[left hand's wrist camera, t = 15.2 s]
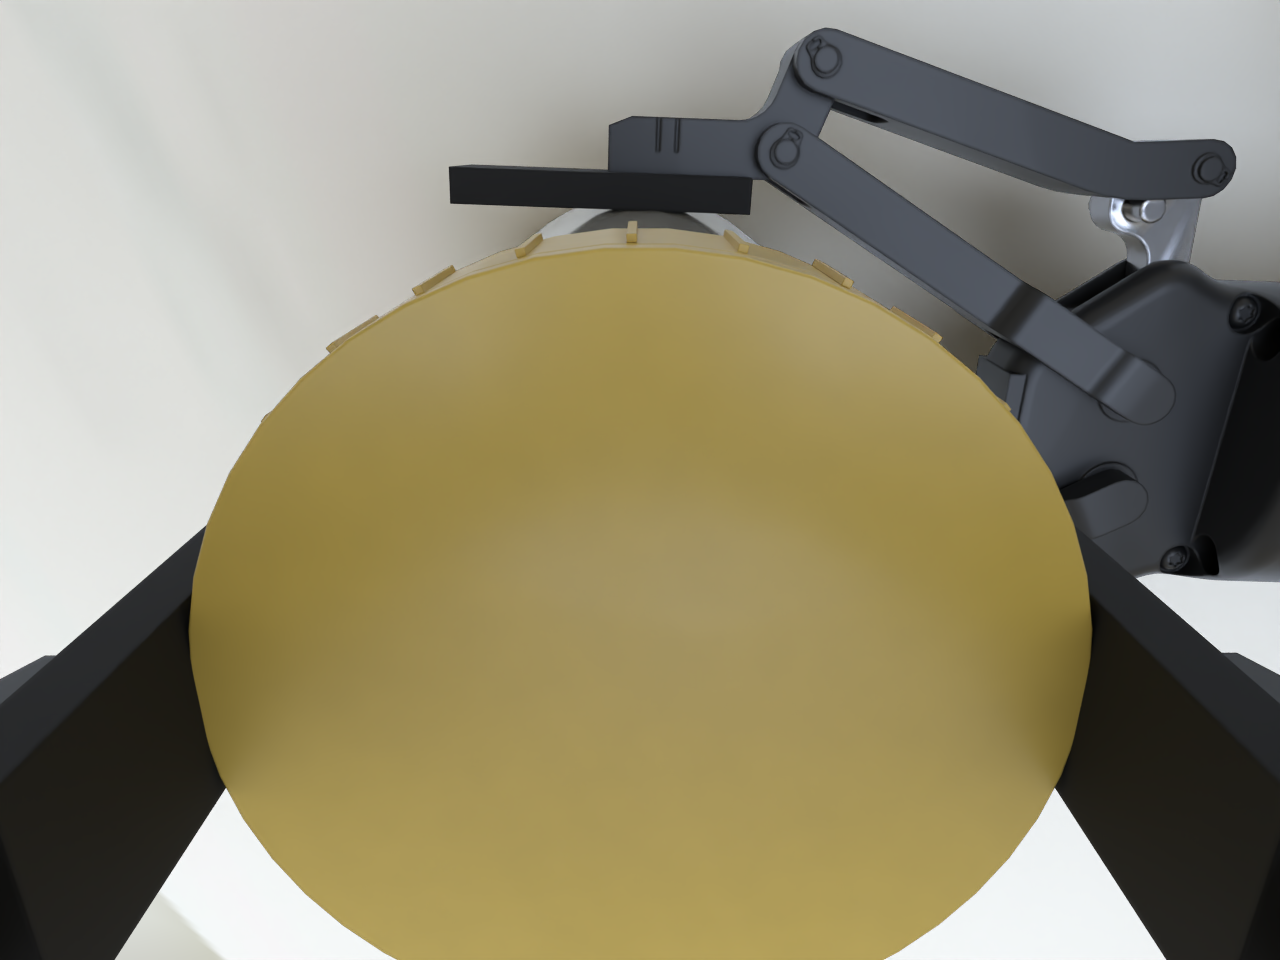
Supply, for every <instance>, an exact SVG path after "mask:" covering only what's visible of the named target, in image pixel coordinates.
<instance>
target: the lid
mask: <svg viewBox="0 0 1280 960" xmlns="http://www.w3.org/2000/svg"><path fill="white" fill-rule="evenodd" d="M853 283H854V281H853V280H851V279H849V278H848V277H846V276H845V275H843V274H841V273H840V272H838V271H836V270H835V269H833V268H832V267H830V266H828V265H827V264H825V263H823V262H822V261H820V260H817V259H815V260H814V262H813V264H812V265H810V264H808V263H806V262H803V261H801V260H799V259H796V258H794V257H792V256H789V255H787V254H785V253H783V252H780V251H777V250H773V249H770V248H766V247H763V246H759V245H755V244H752V243H748V242H745V241H744V240H742V239H741V238H740V237H739V236H738V235H737V234H736V233H734V232H733V231H730V230H724V235H723V236H721V235H714V234H706V233H699V232H692V231H684V230H677V229H669V228H637V221H629V222H628V227H627V228H611V229H604V230H596V231H589V232H582V233H575V234H567V235H560V236H554V237H550V238H547V239H543V237H542V234H541V233H538V234H534V235H532V236H531V237H530V238H529V239H527V240H526V241H525V242H524V243H522V244H521V245H520V246H518V247H515V248H511V249H508V250H504V251H501V252H498V253H496V254H494V255H491V256H489V257H487V258H484V259H482V260H480V261H478V262H475V263H473V264H471V265H468V266H466V267H464V268H462V269H459V270H457V271H456V270H455V269H454V267H453V265H451V266H449V267H447V268H445V269H444V270H442V271H440V272H439V273H437V274H435V275H434V276H432V277H430V278H429V279H427V280H426V281H424V282H422V283H421V284H419V285H417V286H416V287H414V288H413V289H412V290H413V292H414V294H415V295H414V296H413V297H411V298H410V299H408V300H406V301H405V302H403V303H402V304H400V305H398V306H397V307H395V308H394V309H392V310H391V311H389V312H388V313H386V314H385V315H383V316H381V317H380V318H379V317H378V316H377V315H375V316H374V317H372V318H371V319H369V320H367V321H366V322H364V323H363V324H361V325H359V326H358V327H356V328H355V329H353V330H351V331H350V332H348V333H347V334H345V335H343V336H342V337H340V338H339V339H337V340H335V341H334V342H332V343H331V344H330V345H329V346H328V347H326V349H327V350H328V351H329V352H330V354H329V355H328V356H326V357H325V358H324V359H323V360H322V361H320V362H319V363H318V364H317V365H316V366H315V367H313V368H312V369H311V370H310V371H309V372H307V373H306V374H305V375H304V376H303V377H301V378H300V379H299V381H298V382H297V383H296V384H295V385H294V386H293V387H292V389H291V390H290V391H289V392H288V393H287V394H286V395H285V397H284V398H283V399H282V400H281V401H280V402H279V403H278V404H277V406H276V407H275V408H274V409H273V410H272V411H271V412H269V413H268V414H267V415H265V417H264V418H263V419H262V421H261V422H262V423H261V424H260V425H259V427H258V429H257V430H256V432H255V433H254V435H253V436H252V438H251V440H250V441H249V443H248V444H247V446H246V447H245V449H244V451H243V452H242V454H241V455H240V457H239V458H238V460H237V462H236V463H235V465H234V466H233V468H232V469H231V471H230V473H229V475H228V477H227V479H226V481H225V484H224V486H223V488H222V491H221V493H220V495H219V498H218V500H217V502H216V505H215V507H214V509H213V511H212V514H211V516H210V518H209V521H208V523H207V526H206V530H205V534H204V538H203V542H202V545H201V549H200V553H199V557H198V561H197V565H196V569H195V573H194V577H193V588H192V598H191V609H190V620H189V645H190V659H191V664H192V670H193V675H194V680H195V685H196V689H197V694H198V699H199V703H200V708H201V713H202V717H203V722H204V726H205V731H206V736H207V740H208V743H209V747H210V751H211V754H212V756H213V759H214V762H215V764H216V767H217V770H218V772H219V775H220V777H221V779H222V781H223V783H224V785H225V786H226V788H227V790H228V792H229V794H230V796H231V797H232V799H233V801H234V803H235V805H236V807H237V808H238V810H239V812H240V814H241V816H242V818H243V819H244V821H245V822H246V823H247V825H248V826H249V828H250V829H251V830H252V832H253V833H254V834H255V836H256V837H257V839H258V840H259V841H260V843H261V844H262V845H263V847H264V848H265V849H266V851H267V852H268V854H269V855H270V856H271V858H272V859H273V860H274V861H275V862H276V863H277V864H278V865H279V866H280V867H281V869H282V870H283V871H284V872H285V873H286V874H287V875H288V876H289V877H290V878H291V879H292V880H293V881H294V882H295V883H296V885H297V886H298V887H299V888H300V889H301V890H302V891H303V892H304V893H305V894H306V895H307V896H308V897H310V898H311V899H312V900H313V901H314V902H316V903H317V904H318V905H319V906H320V907H321V908H323V909H324V910H325V911H326V912H327V913H329V914H330V915H331V916H332V917H333V918H335V919H336V920H337V921H338V922H339V923H340V924H342V925H343V926H344V927H346V928H347V929H349V930H350V931H352V932H353V933H355V934H356V935H358V936H359V937H361V938H362V939H364V940H365V941H367V942H368V943H370V944H371V945H373V946H374V947H376V948H377V949H379V950H380V951H382V952H383V953H385V954H387V955H389V956H391V957H393V958H395V959H397V960H884V959H886V958H888V957H890V956H891V955H893V954H895V953H897V952H899V951H900V950H902V949H903V948H905V947H906V946H908V945H909V944H911V943H912V942H914V941H915V940H917V939H918V938H920V937H921V936H923V935H924V934H926V933H927V932H929V931H930V930H932V929H933V928H935V927H936V926H938V925H939V924H940V923H941V922H943V921H944V920H945V919H946V918H947V917H949V916H950V915H951V914H952V913H953V912H955V911H956V910H957V909H958V908H959V907H960V906H962V905H963V904H964V903H965V902H966V901H968V900H969V899H970V898H971V897H972V896H973V895H975V894H976V893H977V892H978V891H979V890H980V889H981V887H982V886H983V885H984V884H985V883H986V882H987V881H988V880H989V879H990V878H991V877H992V876H993V875H994V874H995V873H996V871H997V870H998V869H999V868H1000V867H1001V866H1002V865H1003V864H1004V863H1005V862H1006V861H1007V860H1008V859H1009V857H1010V856H1011V855H1012V853H1013V852H1014V851H1015V849H1016V848H1017V846H1018V845H1019V844H1020V842H1021V841H1022V840H1023V838H1024V837H1025V835H1026V834H1027V833H1028V831H1029V830H1030V829H1031V827H1032V826H1033V824H1034V823H1035V822H1036V820H1037V819H1038V817H1039V815H1040V814H1041V812H1042V810H1043V808H1044V806H1045V804H1046V802H1047V801H1048V799H1049V797H1050V795H1051V793H1052V791H1053V790H1054V788H1055V786H1056V784H1057V782H1058V780H1059V779H1060V777H1061V775H1062V772H1063V769H1064V767H1065V764H1066V761H1067V759H1068V756H1069V753H1070V751H1071V747H1072V743H1073V739H1074V735H1075V731H1076V726H1077V721H1078V717H1079V712H1080V707H1081V703H1082V698H1083V694H1084V689H1085V684H1086V680H1087V675H1088V669H1089V664H1090V658H1091V642H1092V621H1091V610H1090V600H1089V589H1088V579H1087V573H1086V569H1085V565H1084V561H1083V557H1082V554H1081V550H1080V546H1079V542H1078V538H1077V534H1076V530H1075V526H1074V523H1073V521H1072V518H1071V516H1070V514H1069V511H1068V509H1067V507H1066V505H1065V502H1064V500H1063V498H1062V495H1061V493H1060V491H1059V489H1058V486H1057V484H1056V482H1055V479H1054V477H1053V475H1052V473H1051V471H1050V469H1049V468H1048V466H1047V465H1046V463H1045V461H1044V460H1043V458H1042V457H1041V455H1040V454H1039V452H1038V451H1037V449H1036V447H1035V446H1034V444H1033V443H1032V441H1031V440H1030V438H1029V436H1028V435H1027V433H1026V432H1025V430H1024V429H1023V427H1022V426H1021V424H1020V423H1019V421H1018V420H1017V419H1016V418H1015V417H1014V416H1013V415H1012V414H1011V412H1010V410H1011V408H1010V407H1009V406H1008V404H1007V403H1006V402H1004V401H1003V400H1001V399H1000V398H998V397H997V396H996V395H995V394H994V393H993V392H992V391H991V390H990V389H989V387H988V386H987V385H986V384H985V383H984V382H983V381H982V380H981V378H980V377H979V376H977V375H976V374H975V373H974V372H973V371H971V370H970V369H969V368H968V367H967V366H965V365H964V364H963V363H962V362H961V361H959V360H958V359H957V358H956V357H955V356H953V355H952V354H951V353H950V352H949V351H947V350H946V349H945V348H944V347H943V346H941V345H940V344H939V342H940V341H941V340H942V339H943V337H942V336H940V335H939V334H938V333H937V332H935V331H933V330H932V329H930V328H929V327H927V326H925V325H924V324H922V323H920V322H919V321H917V320H916V319H914V318H912V317H911V316H909V315H907V314H906V313H904V312H903V311H901V310H899V309H898V308H896V307H894V306H893V307H892V308H891V310H889V309H887V308H886V307H884V306H882V305H881V304H879V303H878V302H876V301H875V300H873V299H871V298H870V297H868V296H866V295H865V294H863V293H862V292H860V291H858V290H857V289H855V288H853V287H852V285H853Z"/></svg>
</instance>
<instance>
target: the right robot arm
mask: <svg viewBox="0 0 1280 960" xmlns="http://www.w3.org/2000/svg"><path fill="white" fill-rule="evenodd" d="M830 110H832V111H835V112H838V113H840V114H843V115H846V116H849V117H851V118H854V119H857V120H860V121H862V122H865V123H868V124H870V125H873V126H876V127H879V128H881V129H884V130H887V131H890V132H892V133H895V134H898V135H900V136H903V137H906V138H909V139H911V140H914V141H917V142H920V143H922V144H925V145H928V146H930V147H933V148H936V149H939V150H941V151H944V152H947V153H950V154H952V155H955V156H958V157H960V158H963V159H966V160H969V161H971V162H974V163H977V164H980V165H982V166H985V167H988V168H990V169H993V170H996V171H999V172H1001V173H1004V174H1007V175H1010V176H1012V177H1015V178H1018V179H1020V180H1023V181H1026V182H1029V183H1031V184H1034V185H1037V186H1040V187H1043V188H1047V189H1050V190H1053V191H1057V192H1064V193H1070V194H1077V195H1087V196H1091V198H1090V201H1089V210H1090V215H1091V219H1092V221H1093V222H1094V224H1095V225H1096V226H1097V227H1099V228H1100V229H1102V230H1105V231H1109V232H1113V233H1116V234H1117V235H1119V236H1120V237H1121V238H1122V239H1123V241H1124V242H1125V244H1126V248H1127V259H1125V260H1122V261H1120V262H1118V263H1116V264H1115V265H1113V266H1111V267H1110V268H1108V269H1107V270H1105V271H1103V272H1102V273H1100V274H1098V275H1097V276H1095V277H1093V278H1092V279H1090V280H1088V281H1087V282H1085V283H1083V284H1082V285H1080V286H1079V287H1077V288H1075V289H1074V290H1072V291H1070V292H1069V293H1067V294H1065V295H1064V296H1062V297H1060V298H1059V299H1057V300H1056V301H1055V300H1053V299H1052V298H1050V297H1049V296H1047V295H1046V294H1044V293H1043V292H1041V291H1039V290H1038V289H1036V288H1034V287H1032V286H1030V285H1028V284H1027V283H1025V282H1023V281H1022V280H1020V279H1019V278H1017V277H1016V276H1015V275H1013V274H1012V273H1010V272H1009V271H1007V270H1006V269H1005V268H1003V267H1002V266H1000V265H999V264H997V263H996V262H995V261H993V260H992V259H990V258H989V257H987V256H986V255H985V254H983V253H982V252H980V251H979V250H978V249H976V248H975V247H973V246H972V245H970V244H969V243H968V242H966V241H965V240H963V239H962V238H960V237H959V236H958V235H956V234H955V233H953V232H952V231H950V230H949V229H948V228H946V227H945V226H943V225H942V224H940V223H939V222H938V221H936V220H935V219H933V218H932V217H931V216H929V215H928V214H926V213H925V212H923V211H922V210H921V209H919V208H918V207H916V206H915V205H913V204H912V203H911V202H909V201H908V200H906V199H905V198H903V197H902V196H901V195H899V194H898V193H896V192H895V191H893V190H892V189H891V188H889V187H888V186H886V185H885V184H883V183H882V182H881V181H879V180H878V179H876V178H875V177H874V176H872V175H871V174H869V173H868V172H866V171H865V170H864V169H862V168H861V167H859V166H858V165H856V164H855V163H854V162H852V161H851V160H849V159H848V158H846V157H845V156H844V155H842V154H841V153H839V152H838V151H836V150H835V149H834V148H832V147H831V146H829V145H828V144H827V143H825V142H824V141H822V140H821V139H819V138H818V136H819V134H820V132H821V129H822V127H823V125H824V123H825V120H826V118H827V116H828V114H829V111H830ZM1235 169H1236V156H1235V153H1234V151H1233V149H1232V147H1231V146H1229V145H1228V144H1227V143H1226V142H1224V141H1220V140H1215V139H1197V140H1144V141H1131V140H1128V139H1126V138H1123V137H1120V136H1118V135H1115V134H1112V133H1110V132H1107V131H1105V130H1102V129H1099V128H1097V127H1094V126H1091V125H1089V124H1086V123H1083V122H1081V121H1078V120H1075V119H1073V118H1070V117H1068V116H1065V115H1062V114H1060V113H1057V112H1054V111H1052V110H1049V109H1046V108H1044V107H1041V106H1038V105H1036V104H1033V103H1031V102H1028V101H1025V100H1023V99H1020V98H1017V97H1015V96H1012V95H1009V94H1007V93H1004V92H1001V91H999V90H996V89H994V88H991V87H988V86H986V85H983V84H980V83H978V82H975V81H972V80H970V79H967V78H964V77H962V76H959V75H957V74H954V73H951V72H949V71H946V70H943V69H941V68H938V67H935V66H933V65H930V64H927V63H925V62H922V61H920V60H917V59H914V58H912V57H909V56H906V55H904V54H901V53H898V52H896V51H893V50H890V49H888V48H885V47H883V46H880V45H877V44H875V43H872V42H869V41H867V40H864V39H861V38H859V37H856V36H853V35H851V34H848V33H846V32H843V31H840V30H838V29H832V28H823V29H819V30H816V31H814V32H812V33H811V34H809V35H808V36H806V37H805V38H803V39H802V40H800V41H799V42H797V43H796V44H794V45H793V46H792V47H791V48H790V49H788V50H787V51H786V53H785V54H784V56H783V58H782V60H781V62H780V68H779V72H778V74H777V77H776V79H775V82H774V84H773V86H772V89H771V91H770V94H769V96H768V98H767V100H766V102H765V104H764V106H763V107H762V108H761V109H760V110H759V112H758V113H757V114H755V115H754V116H752V117H751V118H749V119H746V120H720V119H695V118H669V117H643V116H631V117H629V118H626V119H624V120H621V121H618V122H616V123H613V124H611V125H609V148H608V170H601V169H575V168H548V167H522V166H496V165H462V166H451V167H449V181H450V204H476V205H503V206H529V207H556V208H583V209H609V210H636V211H663V212H690V213H716V214H743V215H750V207H751V194H752V182H753V180H765V181H766V182H768V183H769V184H771V185H772V186H774V187H775V188H777V189H778V190H779V191H781V192H782V193H784V194H785V195H787V196H788V197H790V198H791V199H793V200H794V201H796V202H797V203H799V204H800V205H802V206H803V207H804V208H806V209H807V210H809V211H810V212H812V213H813V214H815V215H816V216H818V217H819V218H821V219H822V220H824V221H825V222H827V223H828V224H829V225H831V226H832V227H834V228H835V229H837V230H838V231H840V232H841V233H843V234H844V235H846V236H847V237H849V238H850V239H851V240H853V241H854V242H856V243H857V244H859V245H860V246H862V247H863V248H865V249H866V250H868V251H869V252H871V253H872V254H874V255H875V256H876V257H878V258H879V259H881V260H882V261H884V262H885V263H887V264H888V265H890V266H891V267H893V268H894V269H896V270H897V271H899V272H900V273H901V274H903V275H904V276H906V277H907V278H909V279H910V280H912V281H913V282H915V283H916V284H918V285H919V286H921V287H922V288H923V289H925V290H926V291H928V292H929V293H931V294H932V295H934V296H935V297H937V298H938V299H940V300H941V301H943V302H944V303H946V304H947V305H948V306H950V307H951V308H953V309H954V310H955V311H956V312H957V313H959V314H960V315H962V316H963V317H964V318H966V319H967V320H969V321H970V322H972V323H973V324H975V325H976V326H978V327H979V328H981V329H982V330H984V331H985V332H987V333H988V334H989V335H991V336H992V337H994V338H995V339H997V342H996V343H995V344H994V345H993V347H992V349H991V350H990V352H989V354H988V356H984V355H979V360H978V366H977V371H976V375H977V376H979V377H980V378H981V380H982V381H983V382H984V383H985V384H986V385H987V386H988V387H989V389H990V390H991V391H992V392H993V393H994V394H995V395H996V396H997V397H998V398H1000V399H1001V400H1003V401H1004V402H1006V403H1007V404H1008V406H1009V407H1010V408H1011V410H1010V412H1011V414H1012V415H1013V416H1014V417H1015V418H1016V419H1017V420H1018V421H1019V423H1020V424H1021V426H1022V427H1023V429H1024V430H1025V432H1026V433H1027V435H1028V436H1029V438H1030V440H1031V441H1032V443H1033V444H1034V446H1035V447H1036V449H1037V451H1038V452H1039V454H1040V455H1041V457H1042V458H1043V460H1044V461H1045V463H1046V465H1047V466H1048V468H1049V469H1050V471H1051V473H1052V475H1053V477H1054V479H1055V482H1056V484H1057V486H1058V489H1059V491H1060V493H1061V495H1062V498H1063V500H1064V502H1065V505H1066V507H1067V509H1068V511H1069V514H1070V516H1071V518H1072V521H1073V523H1074V525H1075V526H1076V527H1077V528H1078V529H1079V530H1081V531H1082V532H1083V533H1084V534H1085V535H1086V536H1088V537H1089V538H1090V539H1091V540H1092V541H1093V542H1094V543H1096V544H1097V545H1098V546H1099V547H1100V548H1101V549H1102V550H1104V551H1105V552H1106V553H1107V554H1108V555H1109V556H1111V557H1112V558H1113V559H1114V560H1115V561H1116V562H1117V563H1119V564H1120V565H1121V566H1122V567H1123V568H1124V569H1126V570H1127V571H1128V572H1129V573H1130V574H1131V575H1132V576H1134V577H1135V578H1138V577H1142V576H1145V575H1150V574H1157V573H1163V574H1172V575H1179V576H1186V577H1193V578H1200V579H1209V580H1227V581H1259V582H1280V282H1264V281H1236V280H1215V279H1213V278H1211V277H1210V276H1208V275H1206V274H1205V273H1204V272H1203V271H1201V270H1200V269H1199V268H1197V267H1196V266H1194V265H1192V264H1190V263H1189V262H1190V257H1191V252H1192V246H1193V241H1194V236H1195V231H1196V225H1197V220H1198V215H1199V210H1200V204H1201V199H1202V198H1206V197H1211V196H1214V195H1215V194H1217V193H1219V192H1220V191H1222V190H1223V189H1224V188H1225V187H1226V186H1227V185H1228V183H1229V182H1230V181H1231V180H1232V177H1233V174H1234V172H1235Z"/></svg>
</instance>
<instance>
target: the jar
mask: <svg viewBox="0 0 1280 960" xmlns="http://www.w3.org/2000/svg"><path fill="white" fill-rule="evenodd" d="M629 221H637V228H669V229H677V230H684V231H692V232H699V233H706V234H714V235H721V236H723V235H724V230H730V231H733V232H734V233H736V234H737V235H738V236H739V237H740V238H741V239H742V240H744V241H745V242H748V243H752V244H755V245H758V244H757V243H756V242H755V241H753V240H752V239H751V238H750V237H748V236H747V235H746V234H745V233H743V232H742V231H741V230H740V229H739V228H737V227H736V226H735V225H734V224H732V223H731V222H729V221H728V220H726V219H724V218H723V217H721V216H719V215H718V214H716V213H690V212H663V211H636V210H609V209H583V208H574V209H572V210H570V211H568V212H566V213H564V214H563V215H561V216H559V217H558V218H556V219H554V220H553V221H551V222H549V223H548V224H547V225H546V226H544V227H543V228H542V229H541V230H539V231H538V232H537V233H536V234H538V233H541V234H542V237H543V239H547V238H550V237H554V236H560V235H567V234H575V233H582V232H589V231H596V230H604V229H611V228H627V227H628V222H629ZM759 246H760V245H759Z"/></svg>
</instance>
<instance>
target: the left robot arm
mask: <svg viewBox="0 0 1280 960" xmlns="http://www.w3.org/2000/svg"><path fill="white" fill-rule="evenodd" d="M206 526H207V525H206ZM206 526H205V527H204V528H203V529H202V530H200V531H199V532H198V533H197V534H196V535H195V536H193V537H192V538H191V539H190V540H189V541H188V542H187V543H185V544H184V545H183V546H182V547H181V548H180V549H178V550H177V551H176V552H175V553H174V554H173V555H172V556H170V557H169V558H168V559H167V560H166V561H165V562H164V563H162V564H161V565H160V566H159V567H158V568H157V569H155V570H154V571H153V572H152V573H151V574H150V575H149V576H147V577H146V578H145V579H144V580H143V581H142V582H140V583H139V584H138V585H137V586H136V587H135V588H134V589H132V590H131V591H130V592H129V593H128V594H127V595H126V596H124V597H123V598H122V599H121V600H120V601H119V602H117V603H116V604H115V605H114V606H113V607H112V608H111V609H109V610H108V611H107V612H106V613H105V614H104V615H102V616H101V617H100V618H99V619H98V620H97V621H96V622H94V623H93V624H92V625H91V626H90V627H89V628H87V629H86V630H85V631H84V632H83V633H82V634H81V635H79V636H78V637H77V638H76V639H75V640H74V641H73V642H71V643H70V644H69V645H68V646H67V647H66V648H64V649H63V650H62V651H61V652H60V653H59V654H58V655H56V656H43V657H41V658H40V659H38V660H36V661H34V662H32V663H30V664H28V665H26V666H24V667H22V668H21V669H19V670H17V671H15V672H13V673H11V674H9V675H7V676H5V677H3V678H1V679H0V960H115V958H116V957H117V955H118V954H119V952H120V950H121V949H122V947H123V946H124V944H125V943H126V941H127V940H128V938H129V937H130V935H131V934H132V932H133V930H134V929H135V927H136V926H137V924H138V923H139V921H140V920H141V918H142V917H143V915H144V913H145V912H146V910H147V909H148V907H149V906H150V904H151V903H152V901H153V900H154V898H155V896H156V895H157V893H158V892H159V890H160V889H161V887H162V886H163V884H164V883H165V881H166V879H167V878H168V876H169V875H170V873H171V872H172V870H173V869H174V867H175V866H176V864H177V862H178V861H179V859H180V858H181V856H182V855H183V853H184V852H185V850H186V849H187V847H188V846H189V844H190V842H191V841H192V839H193V838H194V836H195V835H196V833H197V832H198V830H199V829H200V827H201V825H202V824H203V822H204V821H205V819H206V818H207V816H208V815H209V813H210V812H211V810H212V808H213V807H214V805H215V804H216V802H217V801H218V799H219V798H220V796H221V795H222V793H223V791H224V790H225V788H226V786H225V785H224V783H223V781H222V779H221V777H220V775H219V772H218V770H217V767H216V764H215V762H214V759H213V756H212V754H211V751H210V747H209V743H208V740H207V736H206V731H205V726H204V722H203V717H202V713H201V708H200V703H199V699H198V694H197V689H196V685H195V680H194V675H193V670H192V664H191V659H190V645H189V620H190V609H191V598H192V588H193V577H194V573H195V569H196V565H197V561H198V557H199V553H200V549H201V545H202V542H203V538H204V534H205V530H206ZM1074 526H1075V525H1074ZM1075 530H1076V534H1077V538H1078V542H1079V546H1080V550H1081V554H1082V557H1083V561H1084V565H1085V569H1086V573H1087V579H1088V589H1089V600H1090V610H1091V621H1092V642H1091V658H1090V664H1089V669H1088V675H1087V680H1086V684H1085V689H1084V694H1083V698H1082V703H1081V707H1080V712H1079V717H1078V721H1077V726H1076V731H1075V735H1074V739H1073V743H1072V747H1071V751H1070V753H1069V756H1068V759H1067V761H1066V764H1065V767H1064V769H1063V772H1062V775H1061V777H1060V779H1059V780H1058V782H1057V784H1056V786H1055V789H1056V790H1057V792H1058V793H1059V795H1060V796H1061V798H1062V799H1063V801H1064V802H1065V804H1066V806H1067V807H1068V809H1069V810H1070V812H1071V813H1072V815H1073V816H1074V818H1075V819H1076V821H1077V822H1078V824H1079V826H1080V827H1081V829H1082V830H1083V832H1084V833H1085V835H1086V836H1087V838H1088V839H1089V841H1090V843H1091V844H1092V846H1093V847H1094V849H1095V850H1096V852H1097V853H1098V855H1099V856H1100V858H1101V860H1102V861H1103V863H1104V864H1105V866H1106V867H1107V869H1108V870H1109V872H1110V873H1111V875H1112V877H1113V878H1114V880H1115V881H1116V883H1117V884H1118V886H1119V887H1120V889H1121V890H1122V892H1123V893H1124V895H1125V897H1126V898H1127V900H1128V901H1129V903H1130V904H1131V906H1132V907H1133V909H1134V910H1135V912H1136V914H1137V915H1138V917H1139V918H1140V920H1141V921H1142V923H1143V924H1144V926H1145V927H1146V929H1147V931H1148V932H1149V934H1150V935H1151V937H1152V938H1153V940H1154V941H1155V943H1156V944H1157V946H1158V947H1159V949H1160V951H1161V952H1162V954H1163V955H1164V957H1165V958H1166V960H1280V675H1278V674H1277V673H1275V672H1273V671H1271V670H1269V669H1267V668H1265V667H1263V666H1261V665H1259V664H1257V663H1255V662H1254V661H1252V660H1250V659H1248V658H1246V657H1244V656H1242V655H1240V654H1238V653H1221V652H1220V651H1219V650H1218V649H1217V648H1215V647H1214V646H1213V645H1212V644H1211V643H1210V642H1209V641H1207V640H1206V639H1205V638H1204V637H1203V636H1202V635H1200V634H1199V633H1198V632H1197V631H1196V630H1195V629H1194V628H1192V627H1191V626H1190V625H1189V624H1188V623H1187V622H1185V621H1184V620H1183V619H1182V618H1181V617H1180V616H1179V615H1177V614H1176V613H1175V612H1174V611H1173V610H1172V609H1170V608H1169V607H1168V606H1167V605H1166V604H1165V603H1164V602H1162V601H1161V600H1160V599H1159V598H1158V597H1157V596H1155V595H1154V594H1153V593H1152V592H1151V591H1150V590H1149V589H1147V588H1146V587H1145V586H1144V585H1143V584H1142V583H1141V582H1139V581H1138V580H1137V579H1136V578H1135V577H1134V576H1132V575H1131V574H1130V573H1129V572H1128V571H1127V570H1126V569H1124V568H1123V567H1122V566H1121V565H1120V564H1119V563H1117V562H1116V561H1115V560H1114V559H1113V558H1112V557H1111V556H1109V555H1108V554H1107V553H1106V552H1105V551H1104V550H1102V549H1101V548H1100V547H1099V546H1098V545H1097V544H1096V543H1094V542H1093V541H1092V540H1091V539H1090V538H1089V537H1088V536H1086V535H1085V534H1084V533H1083V532H1082V531H1081V530H1079V529H1078V528H1077V527H1076V526H1075Z"/></svg>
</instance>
